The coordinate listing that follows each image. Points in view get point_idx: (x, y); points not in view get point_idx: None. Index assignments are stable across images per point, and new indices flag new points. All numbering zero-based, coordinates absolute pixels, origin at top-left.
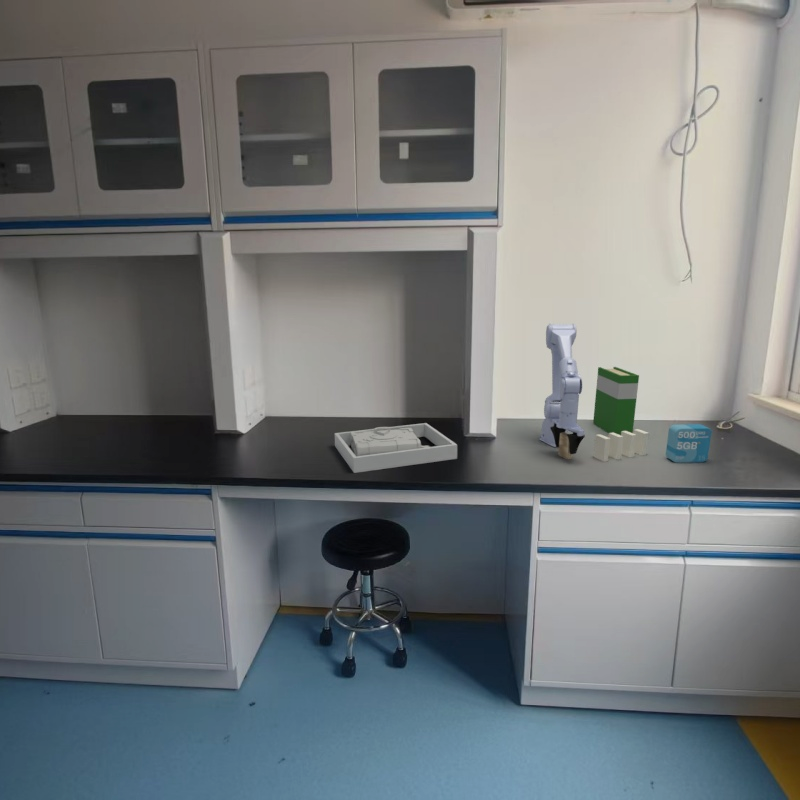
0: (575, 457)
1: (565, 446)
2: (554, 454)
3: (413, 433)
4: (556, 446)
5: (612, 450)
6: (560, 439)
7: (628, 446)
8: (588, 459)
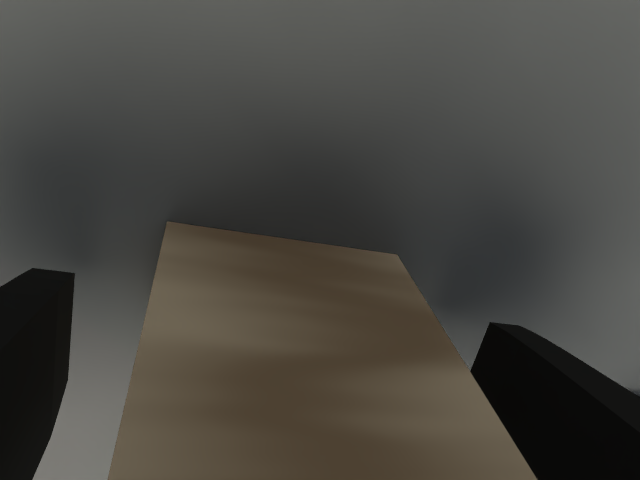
0: None
1: (242, 356)
2: (444, 213)
3: None
4: (506, 326)
5: None
6: (488, 459)
7: None
8: None
